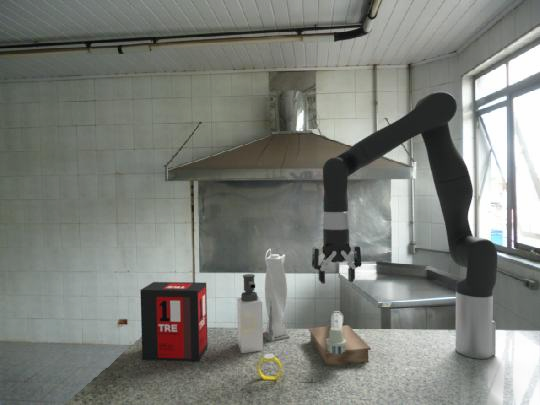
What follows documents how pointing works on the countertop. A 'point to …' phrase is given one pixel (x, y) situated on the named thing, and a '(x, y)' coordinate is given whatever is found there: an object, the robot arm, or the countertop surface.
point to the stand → (353, 349)
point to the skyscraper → (275, 297)
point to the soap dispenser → (249, 318)
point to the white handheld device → (336, 334)
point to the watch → (269, 358)
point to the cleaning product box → (174, 321)
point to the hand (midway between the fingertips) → (336, 282)
